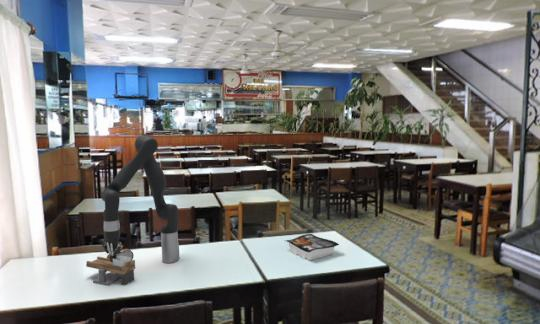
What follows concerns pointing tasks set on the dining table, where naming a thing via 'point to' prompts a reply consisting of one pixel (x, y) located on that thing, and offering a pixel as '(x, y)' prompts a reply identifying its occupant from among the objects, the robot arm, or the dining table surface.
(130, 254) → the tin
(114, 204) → the robot arm
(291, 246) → the food packaging
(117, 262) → the block
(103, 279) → the pivot stand
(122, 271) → the balance beam
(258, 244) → the dining table surface
